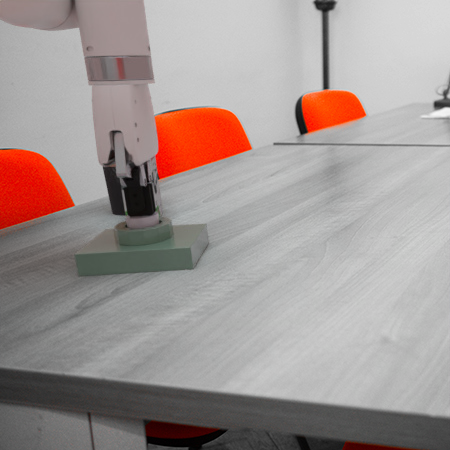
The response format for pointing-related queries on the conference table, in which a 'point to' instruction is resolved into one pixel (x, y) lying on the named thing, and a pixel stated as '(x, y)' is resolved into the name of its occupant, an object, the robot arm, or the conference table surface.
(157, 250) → the green base with button
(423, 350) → the conference table surface
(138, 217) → the pump button
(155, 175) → the ink box
